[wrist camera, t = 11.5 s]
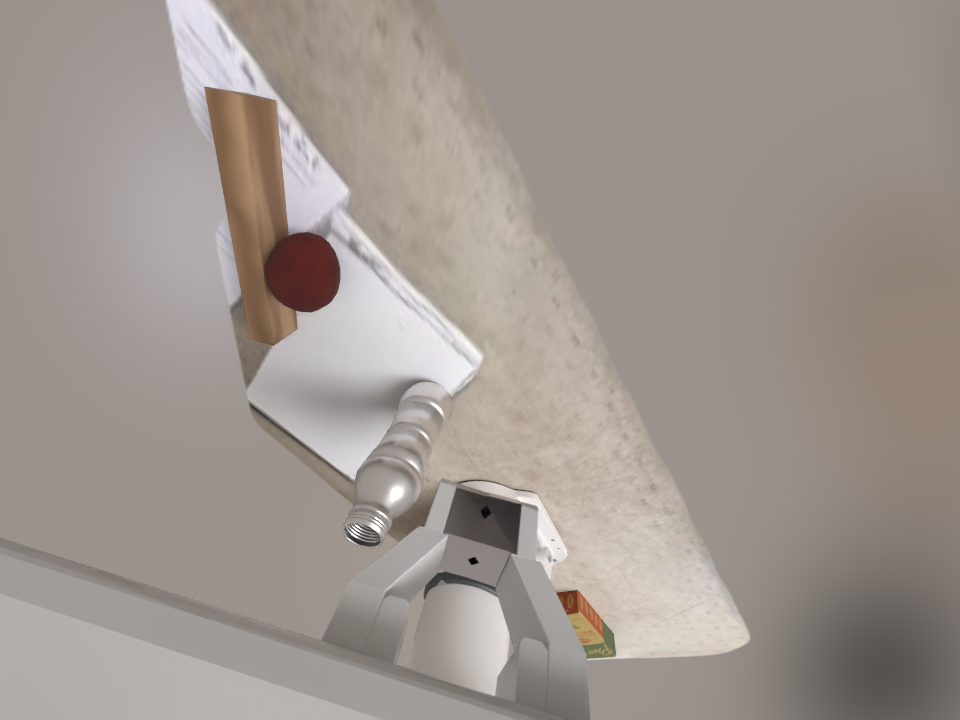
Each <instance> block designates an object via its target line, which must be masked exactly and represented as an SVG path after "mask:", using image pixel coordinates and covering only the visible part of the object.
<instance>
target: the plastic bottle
mask: <svg viewBox="0 0 960 720" xmlns="http://www.w3.org/2000/svg"><path fill="white" fill-rule="evenodd" d="M451 412H452V399H451V397H450V395H449V394H448V392H447V391H446V390H445V389H444V388H443V387H442V386H440V385H438V384H436V383H433V382H420V383H416V384H414V385H412V386H411V387H410V388H409V389H408V390H407V391H406V392H405V393H404V394H403V396H402V397H401V400H400V403H399V406H398V409H397V413H396V415H395V417H394V419H393V422H392V424H391V426H390V428H389V430H388V431H387V433H386V434H385V436H384V437H383V439H382V440H381V442H380V443H379V444H378V446H377V447H376V448H375V449H374V450H373V452H372V453H371V454H370V455H369V456H368V458H367V459H366V460H365V461H364V462H363V464H362V465H361V467H360V468H359V469H358V471H357V474H356V478H355V483H354V488H355V498H356V503H357V504H356V505H354V506H353V507H352V508H351V510H350V512H349V516H348V518H347V519H346V521H345V523H344V525H343V527H342V532H343V535H344V536H345V537H346V538H347V539H348V540H349V541H350V542H352V543H353V544H356V545H358V546H360V547H365V548H376V547H379V546H380V545H381V544H382V542H383V540H384V538H385V536H386V534H387V532H388V531H389V530H390V528H391V526H392V519H393V518H395V517H397V516H399V515H401V514H402V513H404V512H405V511H407V510H408V509H410V508H411V507H412V506H413V504H414V503H415V502H416V501H417V499H418V498H419V496H420V492H421V489H422V485H423V480H424V476H425V471H426V466H427V463H428V460H429V457H430V453H431V451H432V447H433V445H434V443H435V441H436V440H437V438H438V436H439V434H440V432H441V431H442V429H443V428H444V427H445V425H446V424H447V422H448V421H449V419H450V417H451Z"/></svg>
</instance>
